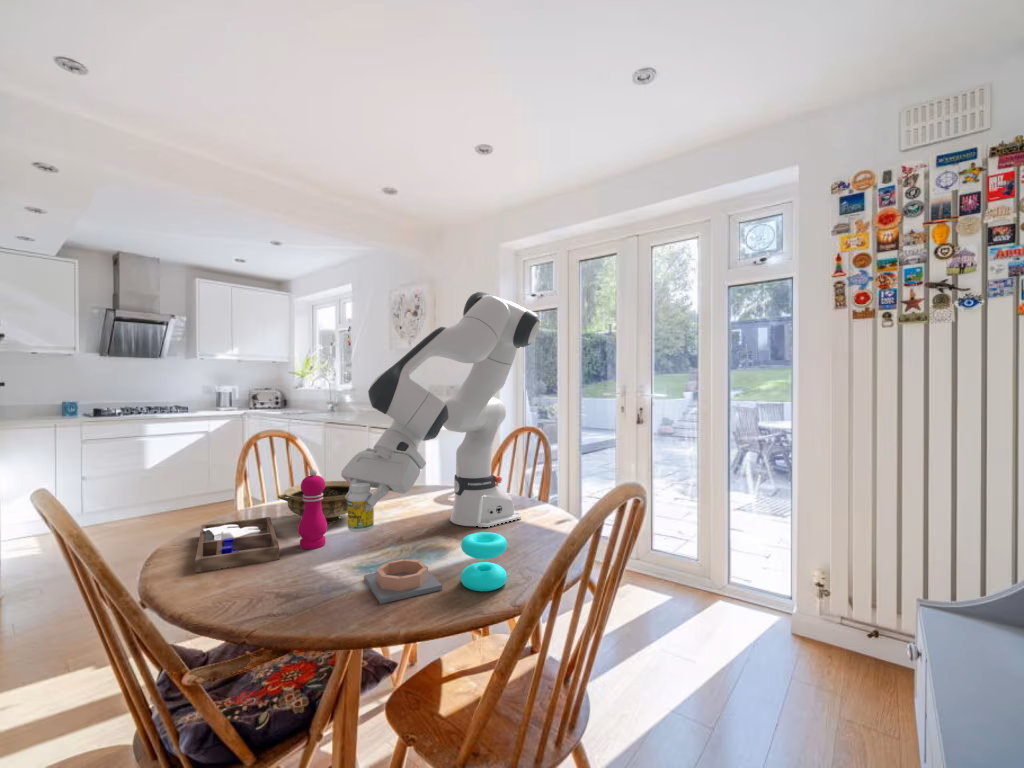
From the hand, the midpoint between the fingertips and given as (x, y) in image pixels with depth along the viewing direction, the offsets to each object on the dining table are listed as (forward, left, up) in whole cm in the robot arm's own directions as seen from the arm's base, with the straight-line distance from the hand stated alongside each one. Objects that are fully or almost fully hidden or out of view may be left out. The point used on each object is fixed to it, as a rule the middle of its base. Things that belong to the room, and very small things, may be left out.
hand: (358, 502), depth 103 cm
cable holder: (+24, -29, -18) cm, 42 cm away
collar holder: (-8, +6, -17) cm, 20 cm away
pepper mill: (+5, -29, -18) cm, 34 cm away
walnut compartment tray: (+22, -37, -17) cm, 46 cm away
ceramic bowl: (-2, -51, -18) cm, 54 cm away
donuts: (-23, +14, -18) cm, 32 cm away
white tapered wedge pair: (+23, -43, -18) cm, 51 cm away
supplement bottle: (0, 0, -6) cm, 6 cm away
